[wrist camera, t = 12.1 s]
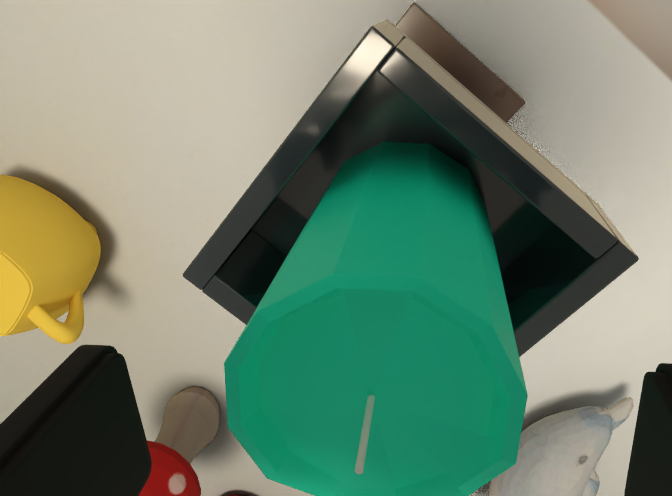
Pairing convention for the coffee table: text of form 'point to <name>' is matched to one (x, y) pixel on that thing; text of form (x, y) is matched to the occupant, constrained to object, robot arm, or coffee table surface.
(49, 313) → the teapot
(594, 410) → the sculpture
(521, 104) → the stand
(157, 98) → the coffee table surface
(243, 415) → the candle
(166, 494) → the decorative mushroom
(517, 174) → the socket
